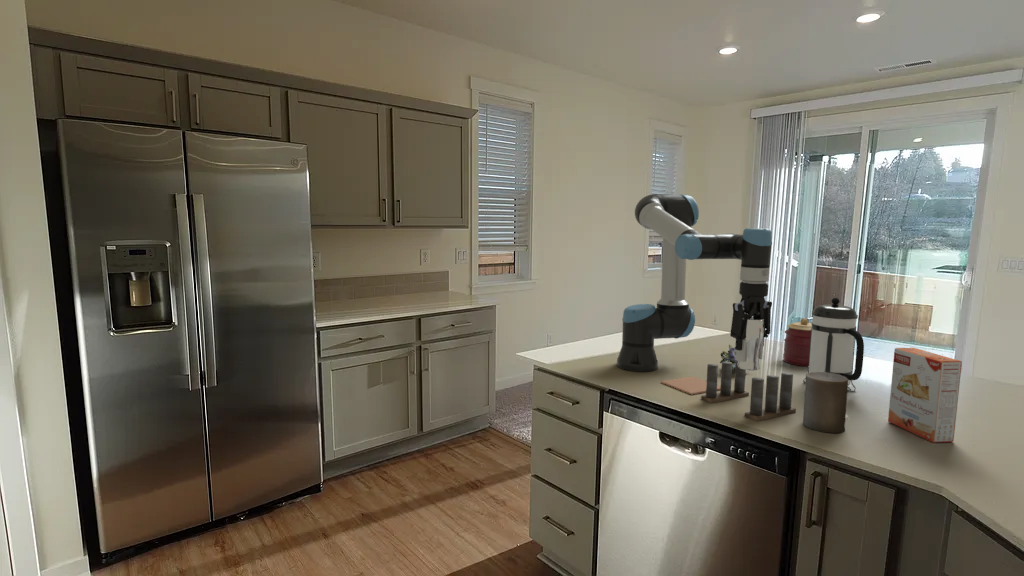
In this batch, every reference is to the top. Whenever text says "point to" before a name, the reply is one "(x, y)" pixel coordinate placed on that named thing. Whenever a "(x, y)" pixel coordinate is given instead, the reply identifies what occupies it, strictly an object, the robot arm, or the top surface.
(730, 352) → the passion flower
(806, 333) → the canister
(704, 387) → the tile pad
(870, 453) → the top surface
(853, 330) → the coffee press
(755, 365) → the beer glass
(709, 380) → the rack
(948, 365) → the cracker box
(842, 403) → the pillar candle
